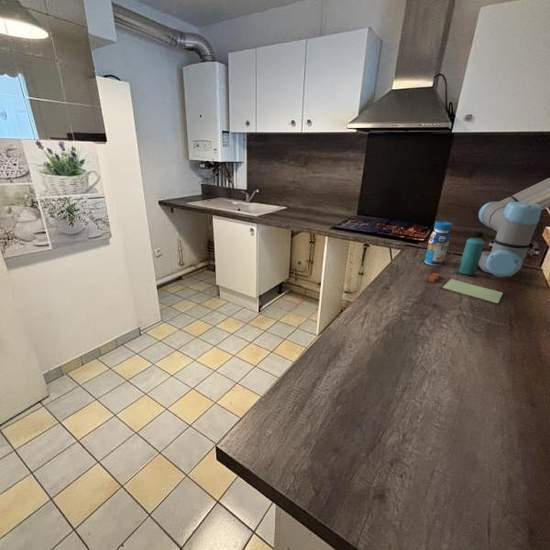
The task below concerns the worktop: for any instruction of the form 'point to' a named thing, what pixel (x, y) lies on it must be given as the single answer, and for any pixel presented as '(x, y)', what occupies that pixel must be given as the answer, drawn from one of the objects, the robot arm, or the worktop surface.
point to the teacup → (484, 261)
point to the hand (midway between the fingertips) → (519, 238)
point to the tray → (473, 290)
